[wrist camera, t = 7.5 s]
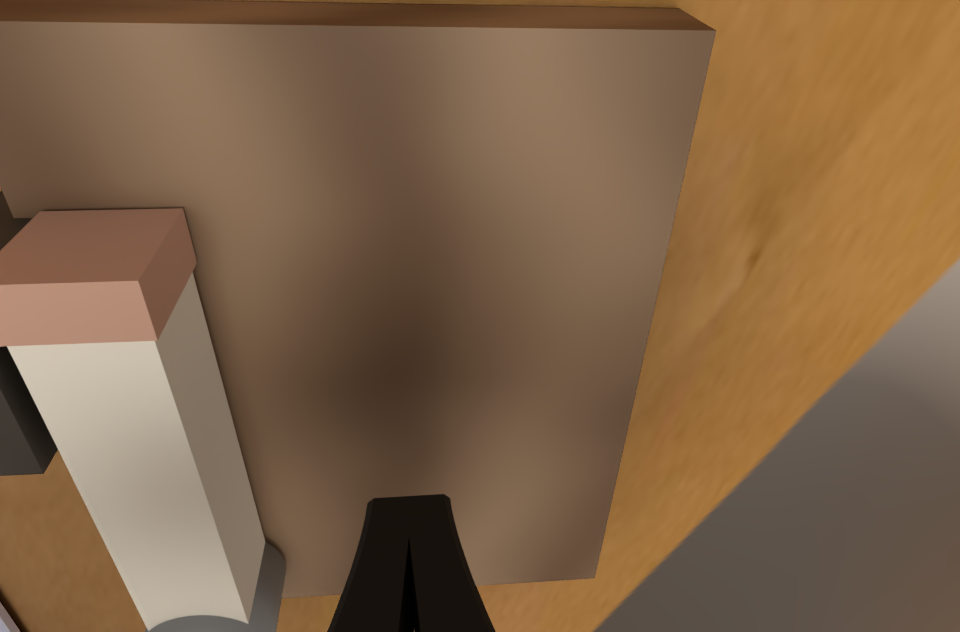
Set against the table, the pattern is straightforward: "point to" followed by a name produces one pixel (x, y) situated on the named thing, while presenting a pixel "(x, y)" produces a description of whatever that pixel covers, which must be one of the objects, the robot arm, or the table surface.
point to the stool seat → (381, 242)
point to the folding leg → (141, 412)
